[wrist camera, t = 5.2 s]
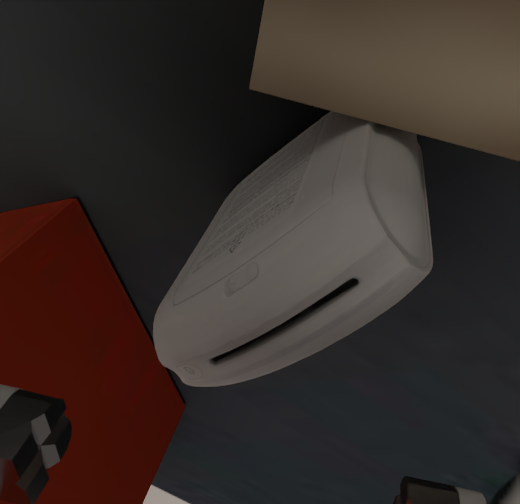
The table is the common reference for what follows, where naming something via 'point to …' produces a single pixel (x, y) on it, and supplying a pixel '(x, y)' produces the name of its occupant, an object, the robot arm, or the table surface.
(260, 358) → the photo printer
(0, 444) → the robot arm
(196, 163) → the table surface
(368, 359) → the table surface
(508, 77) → the oak box
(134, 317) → the file binder
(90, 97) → the table surface
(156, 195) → the table surface
